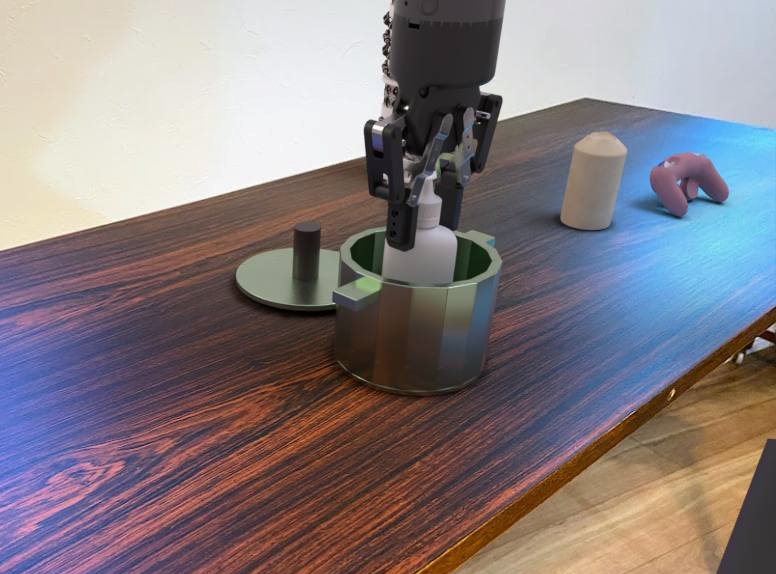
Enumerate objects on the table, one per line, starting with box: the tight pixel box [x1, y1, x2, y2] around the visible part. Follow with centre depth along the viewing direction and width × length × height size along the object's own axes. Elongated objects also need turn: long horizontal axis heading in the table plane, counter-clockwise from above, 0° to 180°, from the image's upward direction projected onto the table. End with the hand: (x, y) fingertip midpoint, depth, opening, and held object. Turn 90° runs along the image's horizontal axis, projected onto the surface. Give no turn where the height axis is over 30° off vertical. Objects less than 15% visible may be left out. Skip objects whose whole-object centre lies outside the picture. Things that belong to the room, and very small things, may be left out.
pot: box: [332, 226, 503, 397], centre depth 75 cm, size 13×18×10 cm
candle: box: [560, 131, 628, 231], centre depth 101 cm, size 6×6×10 cm
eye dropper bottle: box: [382, 179, 457, 284], centre depth 73 cm, size 4×6×12 cm
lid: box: [235, 221, 340, 312], centre depth 88 cm, size 14×14×6 cm
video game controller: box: [649, 151, 730, 218], centre depth 108 cm, size 10×5×7 cm, turn 124°
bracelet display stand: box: [377, 0, 437, 184], centre depth 112 cm, size 9×9×25 cm
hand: (422, 237), depth 72 cm, fingers closed on eye dropper bottle, 5 cm apart
